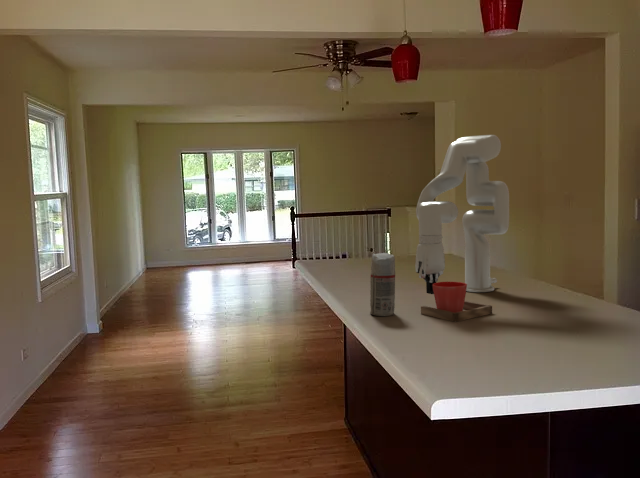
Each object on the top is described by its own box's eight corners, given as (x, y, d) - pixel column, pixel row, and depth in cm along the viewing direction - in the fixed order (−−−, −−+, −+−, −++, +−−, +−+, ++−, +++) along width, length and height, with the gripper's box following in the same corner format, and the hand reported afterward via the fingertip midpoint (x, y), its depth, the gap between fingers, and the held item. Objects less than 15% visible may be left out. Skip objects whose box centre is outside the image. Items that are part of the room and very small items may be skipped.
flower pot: (432, 309, 194) (431, 281, 193) (465, 309, 192) (465, 281, 191) (433, 316, 183) (433, 286, 182) (468, 317, 182) (468, 286, 181)
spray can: (398, 312, 191) (397, 252, 189) (393, 317, 184) (392, 255, 182) (373, 310, 194) (372, 251, 192) (367, 316, 186) (366, 254, 184)
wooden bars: (456, 306, 198) (456, 299, 198) (492, 313, 186) (492, 305, 186) (420, 313, 188) (420, 306, 187) (455, 321, 176) (455, 313, 176)
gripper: (437, 237, 201) (438, 288, 203) (406, 241, 193) (407, 295, 195) (454, 238, 195) (454, 291, 197) (422, 243, 187) (424, 298, 189)
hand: (431, 293), depth 196 cm, fingers closed
